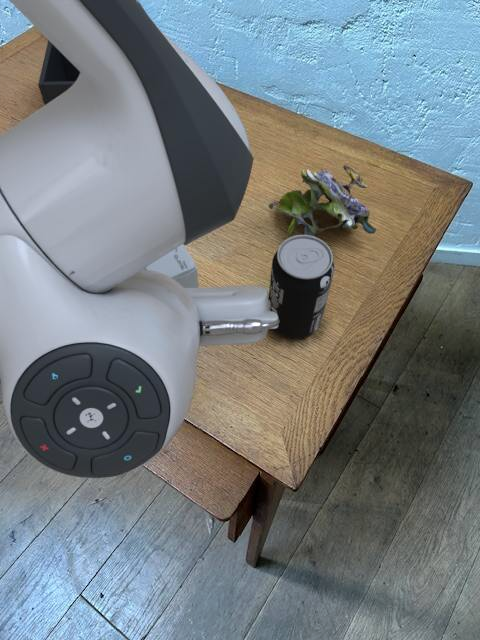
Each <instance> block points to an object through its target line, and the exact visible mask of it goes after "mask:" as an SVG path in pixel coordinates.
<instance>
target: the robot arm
mask: <svg viewBox="0 0 480 640" xmlns="http://www.w3.org/2000/svg"><path fill="white" fill-rule="evenodd" d="M8 1H9V2H10V3H11V4H12V5H13V6H14V7H15V8H16V9H17V10H18V11H19V12H20V13H21V14H22V15H23V16H24V17H25V18H26V20H27V21H29V22H30V23H31V24H32V25H33V27H35V29H37V30H38V31H39V32H40V33H41V34H42V35H43V36H44V37H45V38H46V40H47V41H48V40H49V41H50V42H51V43H52V44H53V45H54V46H55V47H56V48H57V49H58V50H59V51H60V52H61V53H62V54H63V55H64V56H65V57H66V58H67V59H68V60H69V61H70V62H71V63H72V64H73V65H74V66H75V67H76V68H77V69H78V70H79V71H80V74H79V76H78V78H77V80H76V82H75V83H74V84H73V85H72V86H71V87H70V88H69V89H68V90H67V91H65V92H64V93H62V94H61V95H59V96H58V97H56V98H55V99H53V100H52V101H50V102H49V103H48V104H46V105H43V106H41V107H39V109H37V110H35V111H33V113H31V114H30V115H28V116H27V117H25V118H24V119H22V120H20V121H19V122H17V123H16V124H15V125H13V126H12V127H10V128H9V129H8V130H6V131H4V132H3V133H1V134H0V391H1V402H2V408H3V412H4V413H3V414H4V416H5V420H6V423H7V425H8V428H9V430H10V431H11V433H12V436H13V437H14V438H15V440H16V441H17V443H18V444H19V445H20V447H21V448H22V449H23V450H24V451H25V453H26V454H27V455H28V456H29V457H31V459H32V460H34V461H35V462H36V463H38V464H40V465H41V466H43V467H45V468H46V469H48V470H50V471H52V472H55V473H58V474H61V475H64V476H69V477H72V478H80V479H106V478H107V479H108V478H114V477H118V476H121V475H124V474H127V473H131V472H132V471H135V470H137V469H140V468H141V467H143V466H146V465H147V464H148V463H150V462H151V461H152V460H154V459H155V458H157V457H158V456H159V455H160V454H161V453H162V452H163V451H164V450H165V449H166V448H167V446H168V445H169V444H170V443H171V441H173V439H174V438H175V436H176V435H177V433H178V432H179V431H180V429H181V427H182V425H183V423H184V421H185V419H186V417H187V415H188V412H189V410H190V408H191V407H190V406H191V403H192V400H193V396H194V393H195V388H196V381H197V373H198V357H199V351H200V347H210V346H234V345H235V346H236V345H237V346H238V345H248V344H249V345H250V344H254V343H259V342H261V341H263V340H264V339H265V338H266V336H267V335H268V332H269V330H274V329H276V328H277V327H278V326H279V325H278V324H279V323H280V320H279V318H278V316H277V314H276V313H275V312H272V311H268V298H269V291H268V289H267V288H266V287H265V286H261V285H253V284H252V285H227V286H202V287H199V286H198V287H197V288H184V287H182V286H181V285H180V284H179V283H178V282H176V281H175V280H174V279H172V278H170V277H169V276H167V275H164V274H162V273H159V272H156V271H152V270H145V269H144V268H146V267H147V266H149V265H150V264H152V263H153V262H155V261H157V260H158V259H160V258H161V257H163V256H165V255H166V254H168V253H169V252H171V251H172V250H174V249H176V248H177V247H179V246H180V245H182V244H183V245H184V246H187V245H188V244H190V243H192V242H194V241H196V240H198V239H200V238H202V237H203V236H206V235H208V234H209V233H211V232H214V231H215V230H218V229H220V228H221V227H223V226H226V225H227V224H229V223H231V222H233V221H234V220H235V219H236V217H237V214H238V213H239V210H240V207H241V205H242V203H243V199H244V197H245V195H246V191H247V188H248V185H249V181H250V178H251V174H252V169H253V164H254V159H255V158H254V156H253V154H252V152H251V146H250V141H249V137H248V134H247V132H246V129H245V127H244V125H243V123H242V120H241V118H240V116H239V114H238V112H237V111H236V109H235V107H234V106H233V104H232V102H231V101H230V100H229V97H227V96H226V94H225V92H224V91H223V90H222V89H221V87H220V86H219V85H218V83H216V81H215V80H214V79H213V78H212V77H211V76H210V75H209V74H208V73H207V72H206V70H205V69H204V68H203V67H201V66H200V65H199V64H198V63H197V62H196V61H195V60H194V59H193V58H192V57H191V56H189V54H187V53H186V51H184V50H183V49H182V47H180V46H179V45H177V44H176V43H175V42H174V41H173V40H172V39H171V38H170V37H169V36H168V35H167V34H166V33H164V31H163V30H161V28H160V27H158V26H157V25H156V24H155V22H154V21H153V20H152V18H151V17H150V16H149V14H148V13H147V12H146V10H145V9H144V7H143V5H142V4H141V2H140V1H139V0H8Z"/></svg>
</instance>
